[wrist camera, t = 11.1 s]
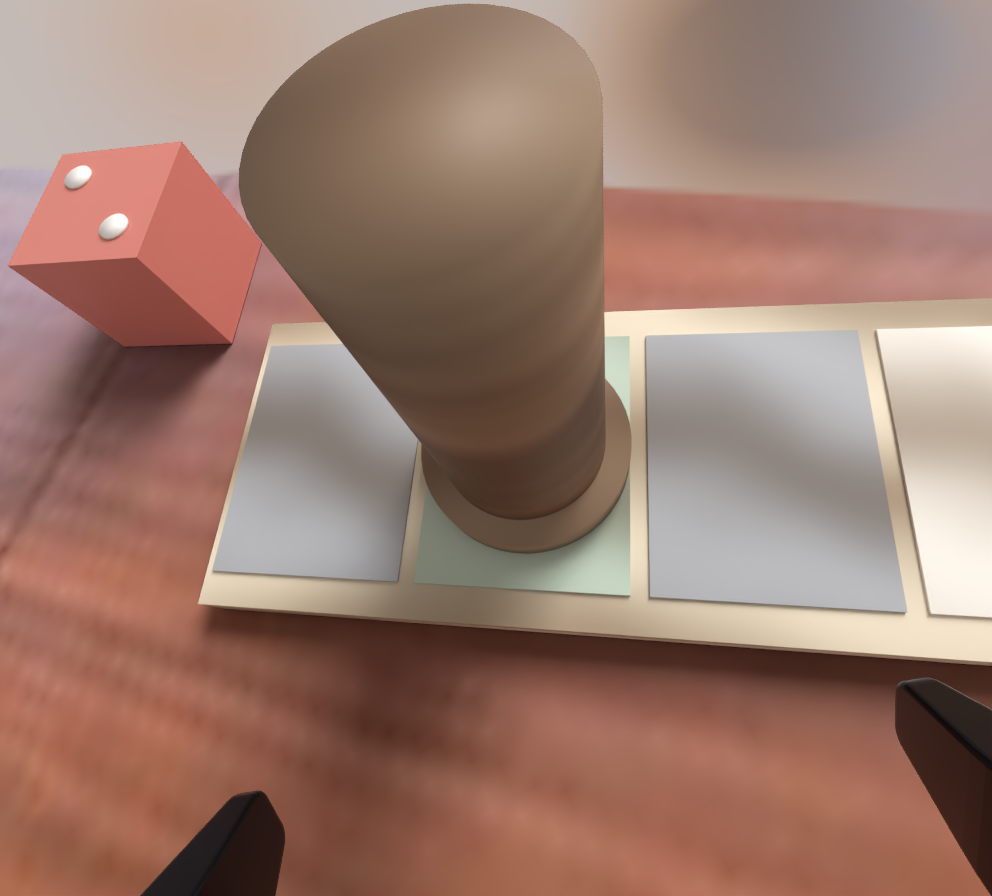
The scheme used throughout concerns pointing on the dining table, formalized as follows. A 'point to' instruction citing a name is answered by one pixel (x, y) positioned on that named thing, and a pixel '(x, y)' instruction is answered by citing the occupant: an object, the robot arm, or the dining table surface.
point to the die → (141, 246)
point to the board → (660, 491)
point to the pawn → (459, 254)
